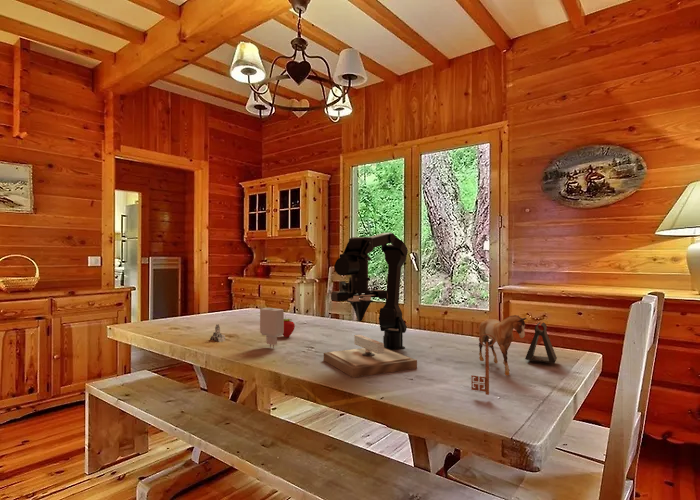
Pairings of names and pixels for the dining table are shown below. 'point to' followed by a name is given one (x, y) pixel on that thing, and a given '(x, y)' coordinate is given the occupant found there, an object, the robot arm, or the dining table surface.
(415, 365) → the brown square tray
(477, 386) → the key
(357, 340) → the T-key
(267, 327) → the charger
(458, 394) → the dining table surface
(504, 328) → the horse figurine
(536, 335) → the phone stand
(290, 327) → the strawberry
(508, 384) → the dining table surface
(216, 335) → the grey stone figurine
